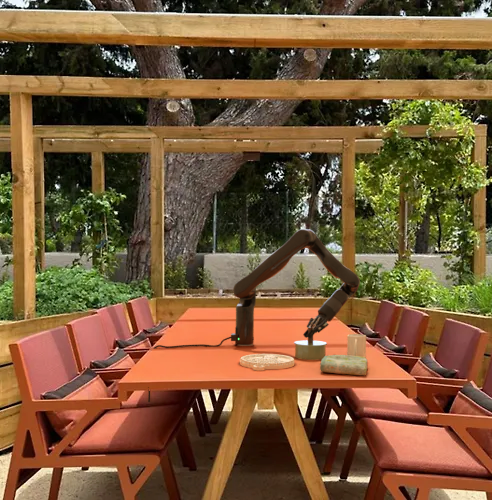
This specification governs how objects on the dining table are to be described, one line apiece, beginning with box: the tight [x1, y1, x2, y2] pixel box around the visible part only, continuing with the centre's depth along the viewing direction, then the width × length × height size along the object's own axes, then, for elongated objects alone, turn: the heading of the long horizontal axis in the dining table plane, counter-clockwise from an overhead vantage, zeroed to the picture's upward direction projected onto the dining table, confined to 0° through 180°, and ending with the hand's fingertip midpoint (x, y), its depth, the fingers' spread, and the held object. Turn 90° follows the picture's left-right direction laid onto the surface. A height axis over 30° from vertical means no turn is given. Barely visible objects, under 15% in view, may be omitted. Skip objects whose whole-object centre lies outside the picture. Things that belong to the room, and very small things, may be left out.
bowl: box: [294, 344, 327, 361], centre depth 273 cm, size 14×14×6 cm
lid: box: [293, 327, 328, 346], centre depth 273 cm, size 15×15×8 cm
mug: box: [346, 333, 367, 359], centre depth 261 cm, size 12×8×12 cm
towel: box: [319, 354, 368, 376], centre depth 245 cm, size 18×21×5 cm
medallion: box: [239, 353, 296, 372], centre depth 256 cm, size 24×27×2 cm
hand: (306, 336), depth 272 cm, fingers closed
